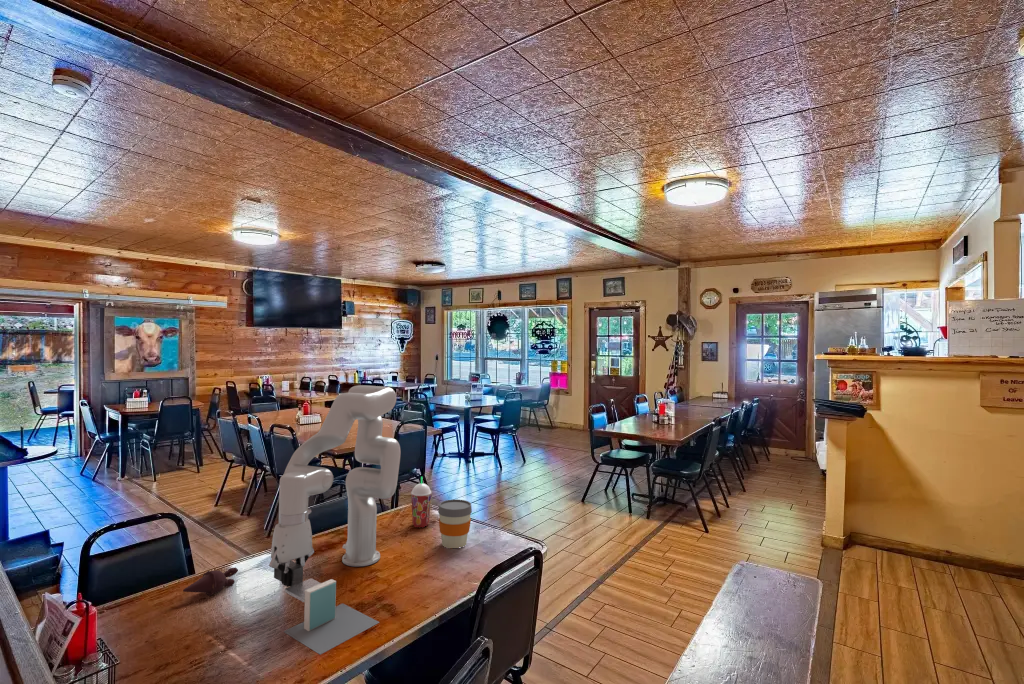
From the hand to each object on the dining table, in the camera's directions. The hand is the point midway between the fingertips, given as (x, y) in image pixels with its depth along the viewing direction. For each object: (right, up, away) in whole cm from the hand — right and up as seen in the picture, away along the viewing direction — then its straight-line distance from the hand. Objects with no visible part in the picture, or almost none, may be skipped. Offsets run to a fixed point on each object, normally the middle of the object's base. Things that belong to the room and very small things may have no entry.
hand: (291, 582), depth 144 cm
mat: (+15, -8, -9) cm, 19 cm away
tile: (+11, -7, -8) cm, 15 cm away
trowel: (+2, 0, -1) cm, 3 cm away
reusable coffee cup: (+40, -9, +49) cm, 64 cm away
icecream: (-27, -7, +7) cm, 29 cm away
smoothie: (+24, -8, +67) cm, 72 cm away
